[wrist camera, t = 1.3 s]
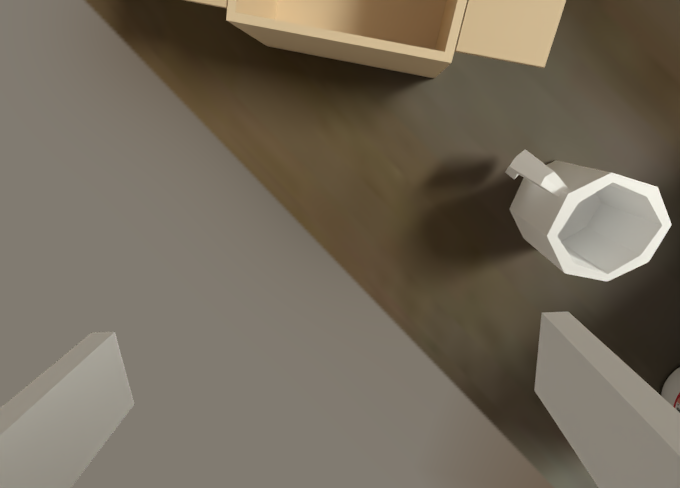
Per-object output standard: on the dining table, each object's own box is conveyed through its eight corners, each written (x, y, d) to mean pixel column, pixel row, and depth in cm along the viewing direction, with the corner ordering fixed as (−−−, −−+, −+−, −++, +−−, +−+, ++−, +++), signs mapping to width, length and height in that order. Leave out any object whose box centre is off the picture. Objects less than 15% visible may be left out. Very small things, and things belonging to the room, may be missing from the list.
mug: (620, 196, 38) (696, 220, 29) (551, 261, 41) (601, 303, 31) (527, 116, 37) (575, 114, 28) (462, 188, 40) (486, 209, 30)
